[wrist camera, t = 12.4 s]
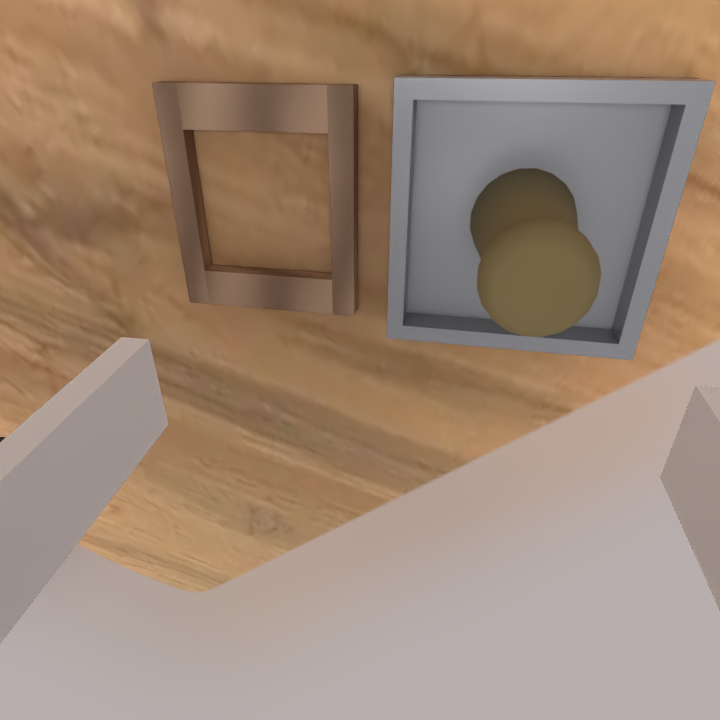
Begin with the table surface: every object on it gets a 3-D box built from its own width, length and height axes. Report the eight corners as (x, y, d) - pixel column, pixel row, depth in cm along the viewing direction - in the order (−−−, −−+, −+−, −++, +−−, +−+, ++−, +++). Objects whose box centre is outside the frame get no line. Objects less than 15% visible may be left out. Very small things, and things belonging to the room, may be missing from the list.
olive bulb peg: (591, 243, 32) (640, 326, 22) (494, 285, 34) (500, 376, 25) (554, 147, 29) (590, 194, 20) (452, 198, 32) (442, 262, 22)
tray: (392, 318, 37) (386, 338, 35) (401, 74, 30) (394, 77, 27) (621, 337, 35) (632, 360, 33) (693, 77, 27) (715, 81, 25)
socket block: (197, 295, 40) (189, 302, 39) (162, 81, 32) (151, 82, 31) (357, 308, 38) (354, 316, 37) (357, 84, 31) (353, 85, 30)
